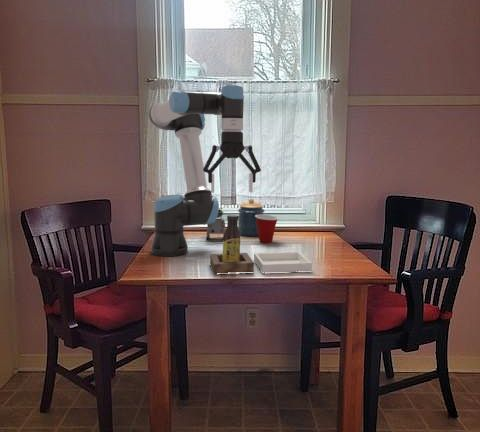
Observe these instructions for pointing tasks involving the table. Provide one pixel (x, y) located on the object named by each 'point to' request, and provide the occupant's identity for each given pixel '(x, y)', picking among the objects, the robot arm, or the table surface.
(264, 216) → the plastic cup
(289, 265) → the plastic tray
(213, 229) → the figurine
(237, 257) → the sauce bottle
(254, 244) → the table surface
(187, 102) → the robot arm
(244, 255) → the walnut holder
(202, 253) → the table surface
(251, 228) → the canister
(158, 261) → the table surface
